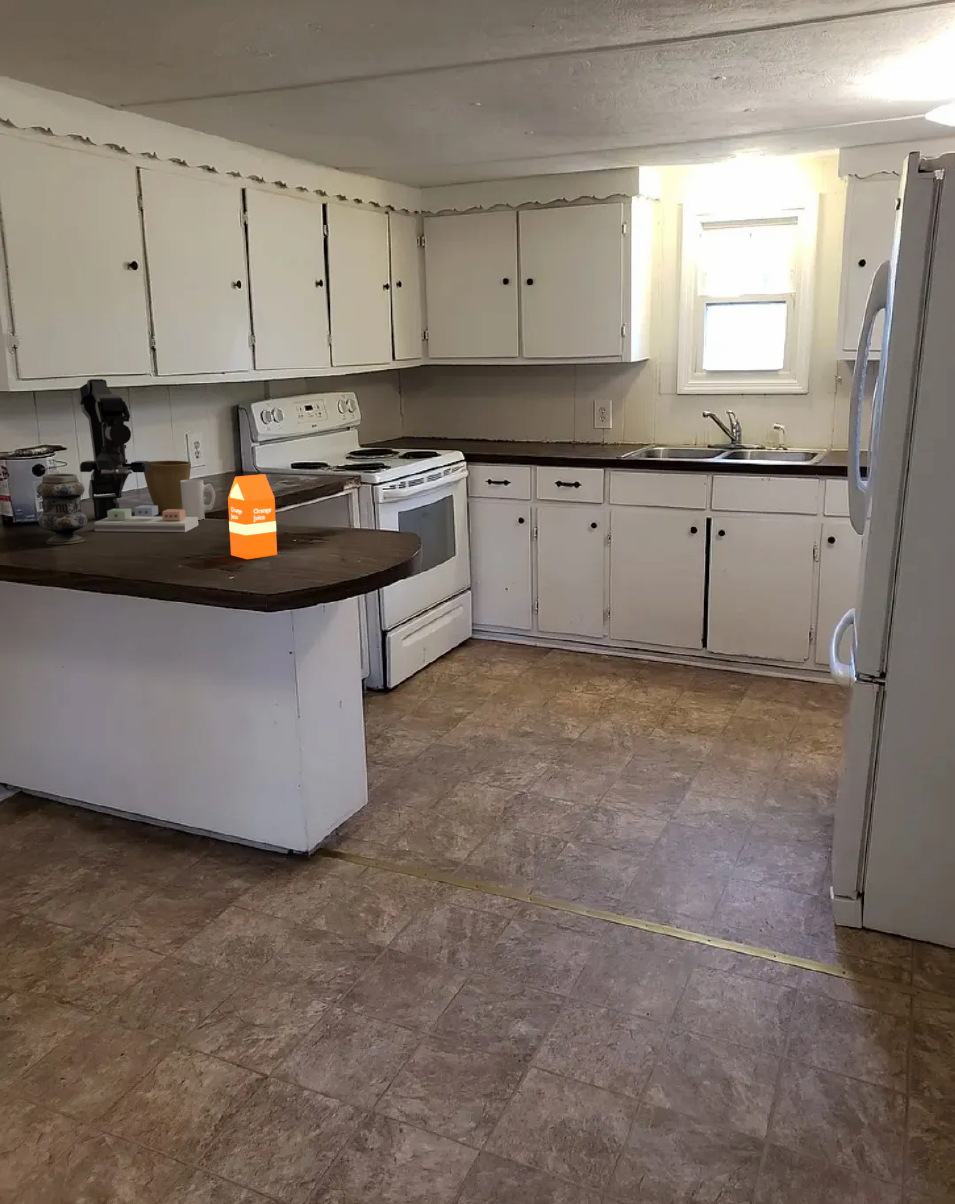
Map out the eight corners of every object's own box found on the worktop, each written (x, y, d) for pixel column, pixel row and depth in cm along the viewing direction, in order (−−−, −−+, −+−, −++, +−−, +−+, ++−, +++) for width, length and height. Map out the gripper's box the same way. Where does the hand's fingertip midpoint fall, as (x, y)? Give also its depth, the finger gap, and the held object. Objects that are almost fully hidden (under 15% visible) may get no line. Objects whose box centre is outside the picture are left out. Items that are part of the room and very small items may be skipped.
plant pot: (156, 517, 305) (152, 465, 301) (138, 511, 316) (134, 461, 313) (201, 512, 314) (198, 462, 311) (182, 507, 326) (179, 459, 322)
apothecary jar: (98, 539, 267) (93, 473, 263) (69, 546, 256) (63, 477, 252) (61, 536, 270) (54, 471, 266) (30, 544, 259) (23, 476, 255)
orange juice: (230, 554, 247) (226, 475, 242) (260, 550, 253) (257, 472, 248) (247, 559, 241) (243, 478, 237) (277, 554, 247) (274, 475, 243)
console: (94, 531, 279) (93, 522, 279) (111, 524, 291) (111, 515, 291) (184, 532, 279) (184, 523, 278) (198, 525, 291) (197, 516, 290)
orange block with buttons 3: (162, 520, 282) (161, 511, 281) (168, 517, 287) (168, 509, 286) (179, 520, 281) (179, 512, 281) (185, 517, 287) (185, 509, 286)
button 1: (107, 519, 282) (106, 511, 281) (114, 517, 287) (114, 508, 287) (124, 520, 282) (123, 511, 281) (131, 517, 287) (130, 508, 286)
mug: (182, 521, 297) (180, 482, 294) (182, 518, 303) (180, 479, 300) (217, 520, 300) (214, 481, 297) (216, 517, 306) (214, 478, 303)
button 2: (134, 516, 282) (134, 507, 281) (141, 513, 287) (140, 505, 286) (151, 516, 281) (151, 508, 281) (158, 513, 287) (157, 505, 286)
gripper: (69, 444, 272) (74, 500, 276) (135, 444, 271) (139, 500, 275) (86, 441, 283) (90, 494, 286) (149, 441, 282) (153, 495, 286)
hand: (118, 496), depth 283 cm, fingers closed
